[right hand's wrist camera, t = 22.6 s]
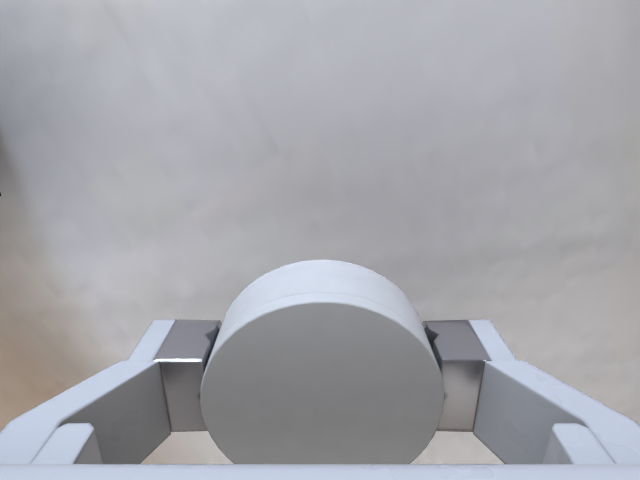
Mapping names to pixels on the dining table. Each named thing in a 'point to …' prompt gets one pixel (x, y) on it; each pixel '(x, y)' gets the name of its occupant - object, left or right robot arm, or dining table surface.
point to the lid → (322, 371)
